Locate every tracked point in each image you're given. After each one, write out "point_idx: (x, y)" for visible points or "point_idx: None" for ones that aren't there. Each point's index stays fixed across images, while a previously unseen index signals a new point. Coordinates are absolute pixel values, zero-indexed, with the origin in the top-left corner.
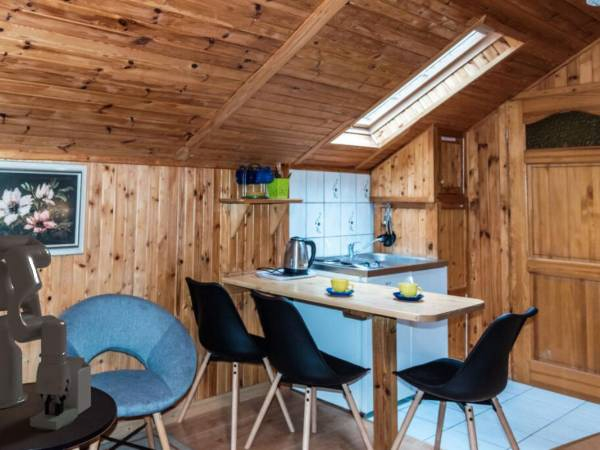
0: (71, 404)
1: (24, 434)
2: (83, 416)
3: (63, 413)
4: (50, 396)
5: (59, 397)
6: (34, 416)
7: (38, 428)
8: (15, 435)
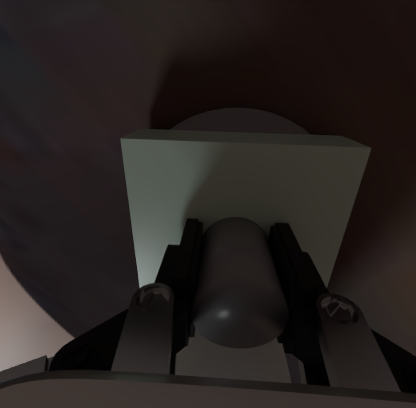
0: (201, 342)
1: (323, 38)
2: None
3: None
4: (311, 373)
5: (117, 350)
6: (350, 181)
7: (266, 119)
8: (384, 2)
